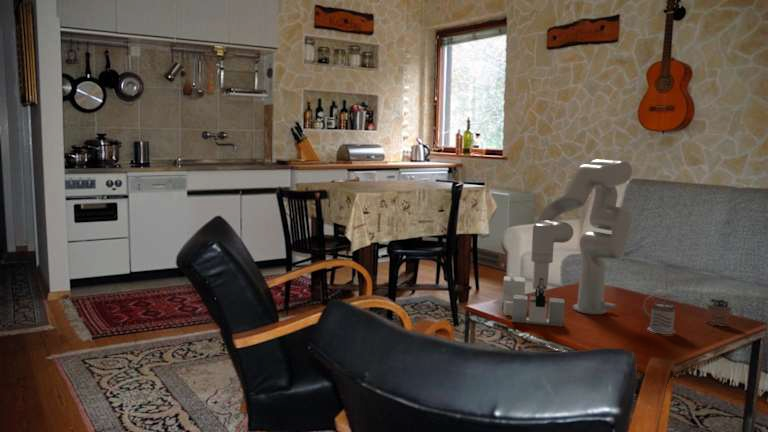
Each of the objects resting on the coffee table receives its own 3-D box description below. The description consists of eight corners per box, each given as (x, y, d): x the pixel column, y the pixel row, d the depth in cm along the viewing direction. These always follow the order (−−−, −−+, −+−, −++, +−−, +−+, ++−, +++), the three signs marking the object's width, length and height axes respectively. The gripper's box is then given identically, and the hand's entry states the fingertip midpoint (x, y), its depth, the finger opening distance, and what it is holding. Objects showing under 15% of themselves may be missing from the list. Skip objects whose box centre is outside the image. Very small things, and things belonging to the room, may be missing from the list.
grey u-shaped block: (561, 322, 237) (563, 298, 236) (562, 327, 231) (564, 303, 230) (512, 317, 241) (513, 294, 240) (511, 322, 235) (513, 298, 234)
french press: (674, 337, 225) (681, 267, 222) (639, 330, 231) (645, 262, 228) (678, 330, 233) (684, 262, 230) (644, 324, 239) (650, 258, 236)
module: (545, 318, 238) (546, 297, 237) (545, 322, 233) (547, 301, 232) (528, 317, 239) (530, 296, 238) (528, 321, 234) (530, 299, 233)
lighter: (728, 325, 243) (731, 299, 242) (730, 327, 240) (733, 301, 239) (704, 322, 246) (707, 296, 245) (706, 324, 243) (709, 298, 241)
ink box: (523, 311, 251) (525, 277, 250) (501, 309, 253) (503, 275, 251) (523, 305, 260) (525, 273, 258) (502, 303, 261) (504, 271, 260)
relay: (513, 313, 248) (514, 300, 247) (516, 316, 244) (516, 303, 243) (503, 312, 248) (504, 300, 247) (505, 315, 244) (506, 302, 243)
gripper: (531, 252, 242) (529, 296, 245) (531, 261, 225) (529, 308, 228) (551, 253, 241) (549, 297, 243) (553, 262, 224) (551, 310, 226)
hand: (539, 303), depth 236 cm, fingers open, 9 cm apart
